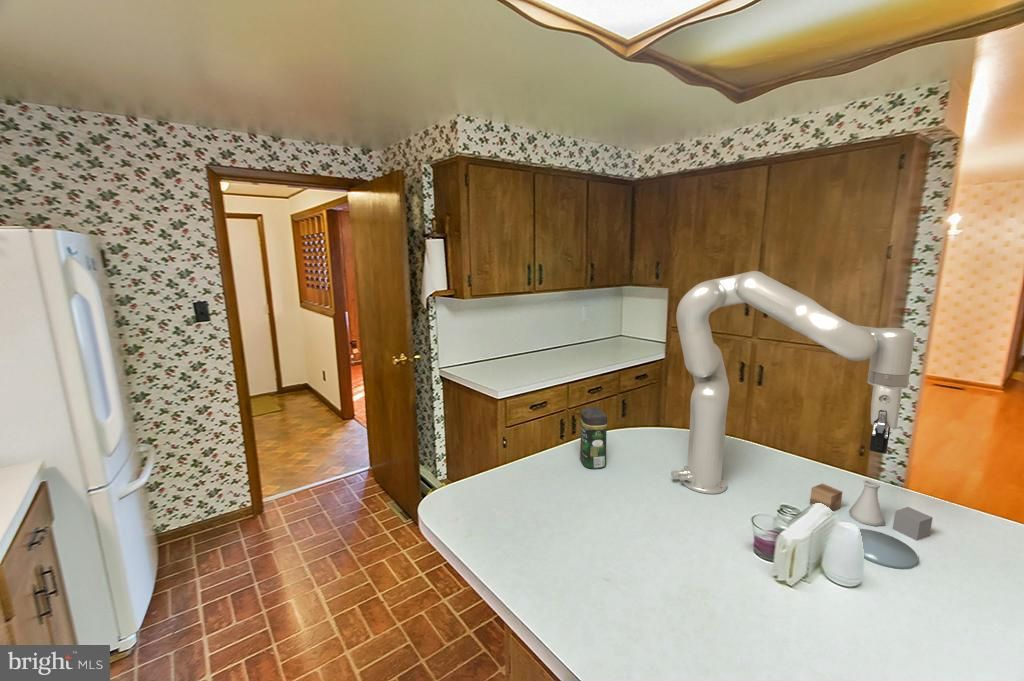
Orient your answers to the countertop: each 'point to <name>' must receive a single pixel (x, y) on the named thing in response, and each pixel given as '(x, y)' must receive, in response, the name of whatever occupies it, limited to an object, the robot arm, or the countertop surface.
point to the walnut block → (826, 496)
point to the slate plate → (887, 550)
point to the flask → (868, 505)
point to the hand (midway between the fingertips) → (879, 445)
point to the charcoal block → (912, 523)
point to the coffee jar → (593, 438)
